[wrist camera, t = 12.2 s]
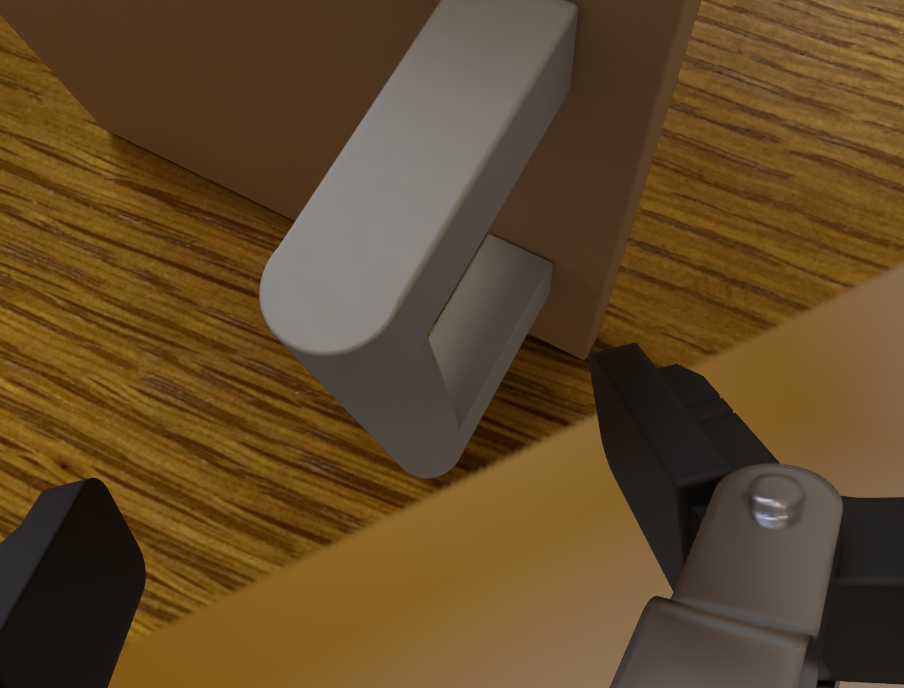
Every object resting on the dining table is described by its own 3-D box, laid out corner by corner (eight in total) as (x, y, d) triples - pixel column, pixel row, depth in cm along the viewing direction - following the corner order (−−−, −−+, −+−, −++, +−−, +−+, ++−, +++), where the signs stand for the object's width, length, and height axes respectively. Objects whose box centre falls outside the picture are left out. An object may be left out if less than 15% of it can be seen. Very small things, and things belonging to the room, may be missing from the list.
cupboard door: (496, 532, 20) (427, 367, 5) (3, 258, 24) (-820, -271, 9) (600, 331, 21) (774, -237, 7) (120, 106, 25) (-427, -558, 11)
